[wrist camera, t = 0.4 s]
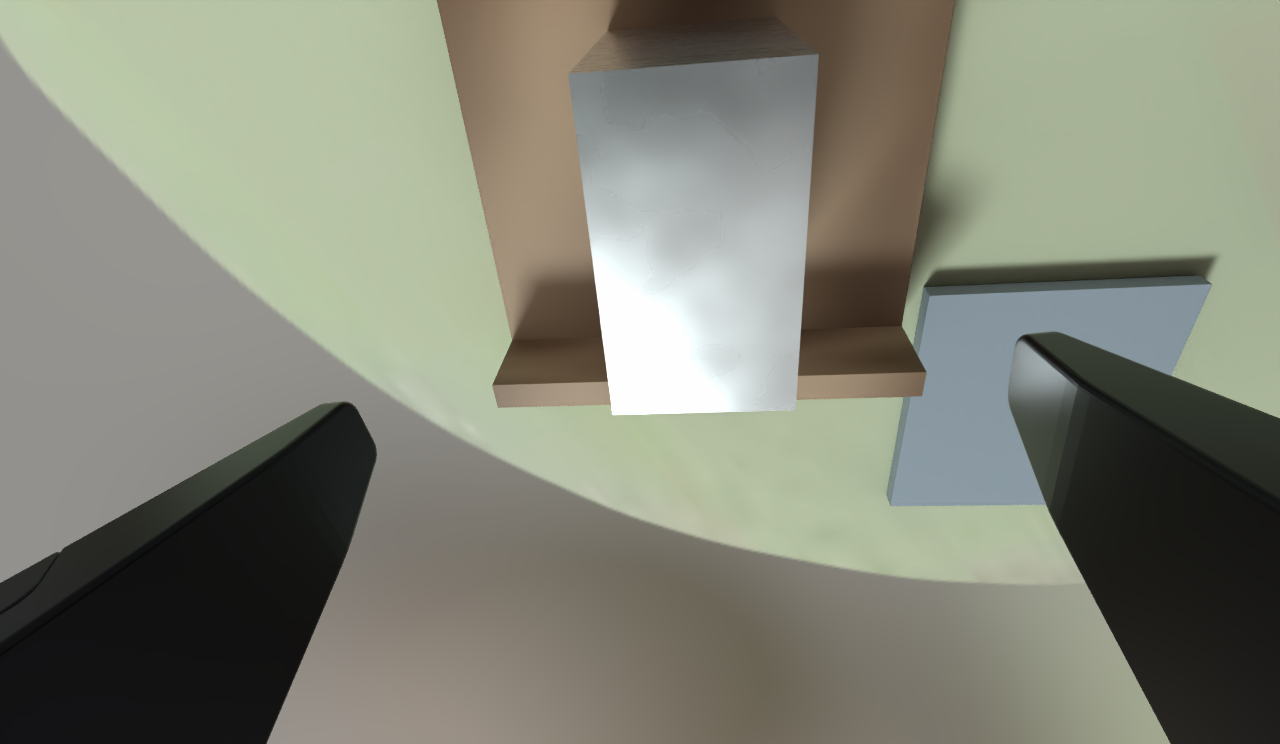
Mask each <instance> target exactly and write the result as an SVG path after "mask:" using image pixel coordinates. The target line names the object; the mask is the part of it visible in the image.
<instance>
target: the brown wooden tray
mask: <svg viewBox="0 0 1280 744" xmlns="http://www.w3.org/2000/svg"><path fill="white" fill-rule="evenodd" d="M437 3H438V7H439V12H440V16H441V21H442V25H443V30H444V34H445V39H446V43H447V48H448V52H449V57H450V61H451V66H452V70H453V75H454V79H455V84H456V88H457V93H458V97H459V102H460V106H461V111H462V115H463V120H464V124H465V129H466V133H467V138H468V143H469V147H470V152H471V156H472V161H473V165H474V170H475V174H476V179H477V183H478V188H479V192H480V197H481V201H482V206H483V210H484V215H485V219H486V224H487V228H488V233H489V237H490V242H491V246H492V251H493V255H494V260H495V264H496V269H497V273H498V278H499V282H500V287H501V291H502V296H503V300H504V305H505V309H506V314H507V318H508V323H509V327H510V332H511V336H512V342H511V345H510V347H509V349H508V351H507V354H506V356H505V358H504V360H503V363H502V365H501V367H500V369H499V372H498V374H497V376H496V378H495V381H494V383H493V385H492V386H493V390H494V394H495V398H496V401H497V405H498V408H500V407H538V406H575V405H611V397H610V390H609V382H608V375H607V367H606V359H605V352H604V344H603V336H602V329H601V321H600V314H599V306H598V298H597V291H596V283H595V276H594V268H593V260H592V253H591V245H590V238H589V230H588V222H587V215H586V207H585V199H584V192H583V184H582V177H581V169H580V161H579V154H578V146H577V139H576V131H575V123H574V116H573V108H572V100H571V93H570V85H569V78H568V73H569V72H570V71H571V70H572V69H573V68H574V67H575V66H576V65H577V63H578V62H579V61H580V60H581V59H582V58H583V57H584V56H585V55H586V54H587V53H588V51H589V50H590V49H591V48H592V47H593V46H594V45H595V44H596V43H597V42H598V41H599V39H600V38H601V37H602V36H603V35H604V34H605V33H606V32H607V31H611V30H623V29H635V28H647V27H659V26H670V25H682V24H694V23H706V22H718V21H729V20H741V19H753V18H765V17H778V18H779V19H780V20H781V21H782V22H783V23H784V24H786V25H787V26H788V27H789V28H790V29H791V30H792V31H793V32H795V33H796V34H797V35H798V36H799V37H800V38H801V39H802V40H804V41H805V42H806V43H807V44H808V45H809V46H810V47H811V48H813V49H814V50H815V51H816V52H817V53H818V54H819V60H818V75H817V90H816V106H815V121H814V136H813V151H812V167H811V182H810V197H809V213H808V228H807V243H806V259H805V274H804V289H803V304H802V320H801V335H800V350H799V366H798V381H797V396H796V400H802V399H839V398H877V397H915V396H922V394H923V389H924V384H925V379H926V374H927V372H926V370H925V368H924V366H923V364H922V362H921V361H920V359H919V357H918V355H917V353H916V351H915V350H914V348H913V346H912V344H911V342H910V341H909V339H908V337H907V335H906V333H905V331H904V330H903V328H902V320H903V314H904V308H905V302H906V296H907V289H908V283H909V277H910V271H911V265H912V259H913V253H914V247H915V241H916V235H917V229H918V222H919V216H920V210H921V204H922V198H923V192H924V186H925V180H926V174H927V168H928V162H929V155H930V149H931V143H932V137H933V131H934V125H935V119H936V113H937V107H938V101H939V95H940V88H941V82H942V76H943V70H944V64H945V58H946V52H947V46H948V40H949V34H950V27H951V21H952V15H953V9H954V3H955V0H437Z"/></svg>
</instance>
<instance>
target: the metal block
mask: <svg viewBox="0 0 1280 744" xmlns="http://www.w3.org/2000/svg"><path fill="white" fill-rule="evenodd" d="M818 60H819V54H818V53H817V52H816V51H815V50H814V49H813V48H811V47H810V46H809V45H808V44H807V43H806V42H805V41H804V40H802V39H801V38H800V37H799V36H798V35H797V34H796V33H795V32H793V31H792V30H791V29H790V28H789V27H788V26H787V25H786V24H784V23H783V22H782V21H781V20H780V19H779V18H778V17H765V18H753V19H741V20H729V21H718V22H706V23H694V24H682V25H670V26H659V27H647V28H635V29H623V30H611V31H607V32H606V33H605V34H604V35H603V36H602V37H601V38H600V39H599V41H598V42H597V43H596V44H595V45H594V46H593V47H592V48H591V49H590V50H589V51H588V53H587V54H586V55H585V56H584V57H583V58H582V59H581V60H580V61H579V62H578V63H577V65H576V66H575V67H574V68H573V69H572V70H571V71H570V72H569V73H568V78H569V85H570V93H571V100H572V108H573V116H574V123H575V131H576V139H577V146H578V154H579V161H580V169H581V177H582V184H583V192H584V199H585V207H586V215H587V222H588V230H589V238H590V245H591V253H592V260H593V268H594V276H595V283H596V291H597V298H598V306H599V314H600V321H601V329H602V336H603V344H604V352H605V359H606V367H607V375H608V382H609V390H610V397H611V405H612V413H613V415H626V414H666V413H706V412H746V411H786V410H796V396H797V381H798V366H799V350H800V335H801V320H802V304H803V289H804V274H805V259H806V243H807V228H808V213H809V197H810V182H811V167H812V151H813V136H814V121H815V106H816V90H817V75H818Z"/></svg>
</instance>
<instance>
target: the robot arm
mask: <svg viewBox="0 0 1280 744" xmlns="http://www.w3.org/2000/svg"><path fill="white" fill-rule="evenodd" d="M1008 402H1009V407H1010V410H1011V413H1012V415H1013V418H1014V421H1015V424H1016V426H1017V429H1018V432H1019V434H1020V437H1021V440H1022V442H1023V445H1024V448H1025V450H1026V453H1027V456H1028V458H1029V461H1030V464H1031V466H1032V469H1033V472H1034V474H1035V477H1036V480H1037V482H1038V485H1039V488H1040V491H1041V493H1042V496H1043V498H1044V501H1045V503H1046V506H1047V508H1048V510H1049V513H1050V515H1051V517H1052V519H1053V521H1054V523H1055V525H1056V527H1057V529H1058V531H1059V533H1060V535H1061V537H1062V539H1063V540H1064V542H1065V544H1066V546H1067V548H1068V550H1069V552H1070V554H1071V556H1072V558H1073V559H1074V561H1075V563H1076V565H1077V567H1078V569H1079V571H1080V573H1081V575H1082V577H1083V578H1084V580H1085V582H1086V584H1087V586H1088V588H1089V590H1090V591H1091V594H1092V595H1093V597H1094V599H1095V601H1096V603H1097V605H1098V607H1099V609H1100V611H1101V613H1102V614H1103V616H1104V618H1105V620H1106V622H1107V624H1108V626H1109V628H1110V630H1111V632H1112V633H1113V635H1114V637H1115V639H1116V641H1117V643H1118V645H1119V646H1120V648H1121V650H1122V652H1123V654H1124V656H1125V658H1126V660H1127V662H1128V664H1129V666H1130V668H1131V669H1132V671H1133V673H1134V675H1135V677H1136V679H1137V681H1138V683H1139V685H1140V687H1141V688H1142V690H1143V692H1144V694H1145V696H1146V698H1147V700H1148V702H1149V704H1150V706H1151V707H1152V709H1153V711H1154V713H1155V715H1156V717H1157V719H1158V721H1159V723H1160V724H1161V726H1162V728H1163V730H1164V732H1165V734H1166V736H1167V737H1168V740H1169V742H1170V743H1171V744H1280V418H1277V417H1275V416H1272V415H1269V414H1267V413H1264V412H1262V411H1259V410H1257V409H1254V408H1252V407H1249V406H1247V405H1244V404H1241V403H1239V402H1236V401H1234V400H1231V399H1229V398H1226V397H1224V396H1221V395H1219V394H1216V393H1213V392H1211V391H1208V390H1206V389H1203V388H1201V387H1198V386H1196V385H1193V384H1191V383H1188V382H1185V381H1183V380H1180V379H1178V378H1175V377H1173V376H1170V375H1168V374H1165V373H1163V372H1160V371H1158V370H1155V369H1152V368H1150V367H1147V366H1145V365H1142V364H1140V363H1137V362H1135V361H1132V360H1130V359H1127V358H1124V357H1122V356H1119V355H1117V354H1114V353H1112V352H1109V351H1107V350H1104V349H1102V348H1099V347H1097V346H1094V345H1091V344H1089V343H1086V342H1084V341H1081V340H1079V339H1076V338H1074V337H1071V336H1069V335H1066V334H1063V333H1061V332H1055V331H1051V332H1041V333H1031V334H1025V335H1022V336H1021V337H1020V338H1019V339H1018V340H1017V342H1016V345H1015V349H1014V355H1013V361H1012V368H1011V374H1010V381H1009V387H1008ZM376 456H377V453H376V446H375V443H374V441H373V439H372V437H371V435H370V433H369V431H368V429H367V427H366V426H365V423H364V421H363V420H362V418H361V416H360V414H359V412H358V410H357V409H356V407H355V406H354V405H353V404H351V403H349V402H333V403H325V404H321V405H319V406H317V407H315V408H313V409H311V410H310V411H308V412H306V413H304V414H302V415H301V416H299V417H297V418H295V419H294V420H292V421H290V422H288V423H286V424H285V425H283V426H281V427H279V428H277V429H276V430H274V431H272V432H270V433H269V434H267V435H265V436H263V437H261V438H260V439H258V440H256V441H254V442H252V443H251V444H249V445H247V446H245V447H243V448H242V449H240V450H238V451H236V452H234V453H233V454H231V455H229V456H228V457H226V458H224V459H222V460H221V461H218V462H217V463H215V464H213V465H211V466H210V467H208V468H206V469H204V470H202V471H200V472H199V473H197V474H195V475H193V476H192V477H190V478H188V479H186V480H184V481H183V482H181V483H179V484H177V485H175V486H174V487H172V488H171V489H168V490H167V491H165V492H163V493H161V494H159V495H158V496H156V497H154V498H152V499H150V500H149V501H147V502H145V503H143V504H141V505H140V506H138V507H136V508H134V509H133V510H131V511H129V512H127V513H125V514H124V515H122V516H120V517H119V518H116V519H115V520H113V521H111V522H109V523H108V524H106V525H104V526H102V527H100V528H99V529H97V530H95V531H93V532H92V533H90V534H88V535H86V536H84V537H83V538H81V539H79V540H77V541H75V542H73V543H72V544H70V545H68V546H67V547H65V548H64V549H63V550H62V551H61V552H56V553H54V554H52V555H50V556H48V557H46V558H45V559H43V560H41V561H40V562H38V563H36V564H34V565H32V566H30V567H29V568H27V569H25V570H23V571H21V572H20V573H18V574H16V575H14V576H13V577H11V578H9V579H7V580H5V581H3V582H1V583H0V744H267V741H268V739H269V736H270V734H271V732H272V730H273V727H274V725H275V723H276V720H277V718H278V715H279V713H280V711H281V708H282V706H283V704H284V701H285V699H286V697H287V694H288V692H289V689H290V687H291V685H292V682H293V680H294V678H295V675H296V673H297V671H298V668H299V666H300V664H301V661H302V659H303V656H304V654H305V652H306V649H307V647H308V644H309V642H310V640H311V637H312V635H313V633H314V630H315V628H316V625H317V623H318V621H319V619H320V616H321V614H322V612H323V609H324V607H325V605H326V602H327V600H328V597H329V595H330V592H331V590H332V588H333V586H334V583H335V581H336V579H337V576H338V574H339V571H340V569H341V567H342V564H343V562H344V559H345V557H346V554H347V552H348V549H349V546H350V543H351V540H352V537H353V534H354V531H355V528H356V524H357V521H358V518H359V514H360V511H361V508H362V505H363V502H364V498H365V495H366V492H367V488H368V485H369V482H370V479H371V475H372V472H373V469H374V465H375V463H376Z"/></svg>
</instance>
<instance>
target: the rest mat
mask: <svg viewBox="0 0 1280 744" xmlns="http://www.w3.org/2000/svg"><path fill="white" fill-rule="evenodd" d="M1211 286H1212V284H1211V283H1210V282H1208V281H1207V280H1205V279H1204V278H1202V277H1201V276H1199V275H1197V276H1173V277H1150V278H1126V279H1103V280H1079V281H1056V282H1033V283H1009V284H986V285H962V286H939V287H924V289H923V294H922V300H921V305H920V311H919V317H918V322H917V328H916V333H915V339H914V344H913V348H914V350H915V351H916V353H917V355H918V357H919V359H920V361H921V362H922V364H923V366H924V368H925V370H926V372H927V374H926V379H925V384H924V389H923V394H922V396H915V397H904V400H903V406H902V411H901V417H900V423H899V428H898V434H897V439H896V445H895V450H894V456H893V462H892V467H891V473H890V478H889V484H888V490H887V498H888V501H889V503H890V506H954V505H1046V503H1045V501H1044V498H1043V496H1042V493H1041V491H1040V488H1039V485H1038V482H1037V480H1036V477H1035V474H1034V472H1033V469H1032V466H1031V464H1030V461H1029V458H1028V456H1027V453H1026V450H1025V448H1024V445H1023V442H1022V440H1021V437H1020V434H1019V432H1018V429H1017V426H1016V424H1015V421H1014V418H1013V415H1012V413H1011V410H1010V407H1009V402H1008V387H1009V381H1010V374H1011V368H1012V361H1013V355H1014V349H1015V345H1016V342H1017V340H1018V339H1019V338H1020V337H1021V336H1022V335H1025V334H1031V333H1041V332H1051V331H1055V332H1061V333H1063V334H1066V335H1069V336H1071V337H1074V338H1076V339H1079V340H1081V341H1084V342H1086V343H1089V344H1091V345H1094V346H1097V347H1099V348H1102V349H1104V350H1107V351H1109V352H1112V353H1114V354H1117V355H1119V356H1122V357H1124V358H1127V359H1130V360H1132V361H1135V362H1137V363H1140V364H1142V365H1145V366H1147V367H1150V368H1152V369H1155V370H1158V371H1160V372H1163V373H1165V374H1168V375H1170V376H1171V375H1172V372H1173V370H1174V368H1175V366H1176V364H1177V361H1178V359H1179V357H1180V355H1181V353H1182V350H1183V348H1184V346H1185V344H1186V341H1187V339H1188V337H1189V335H1190V333H1191V330H1192V328H1193V326H1194V324H1195V321H1196V319H1197V317H1198V315H1199V313H1200V310H1201V308H1202V306H1203V304H1204V302H1205V299H1206V297H1207V295H1208V293H1209V290H1210V288H1211Z"/></svg>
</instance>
